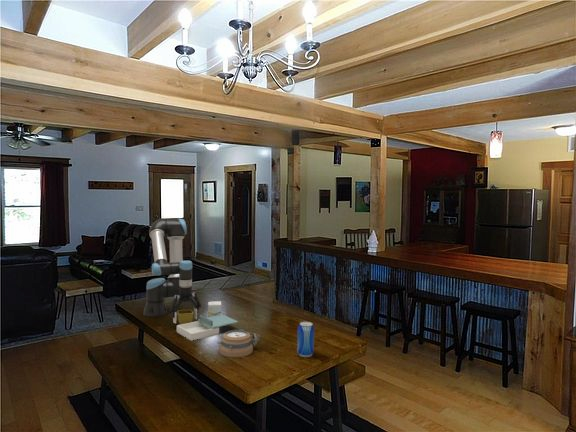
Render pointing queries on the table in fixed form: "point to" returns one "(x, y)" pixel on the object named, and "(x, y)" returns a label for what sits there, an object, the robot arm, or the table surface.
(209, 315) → the ink box
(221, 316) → the lid
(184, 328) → the white square tray
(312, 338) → the beer can
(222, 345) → the alarm clock
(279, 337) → the table surface
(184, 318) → the flower pot
